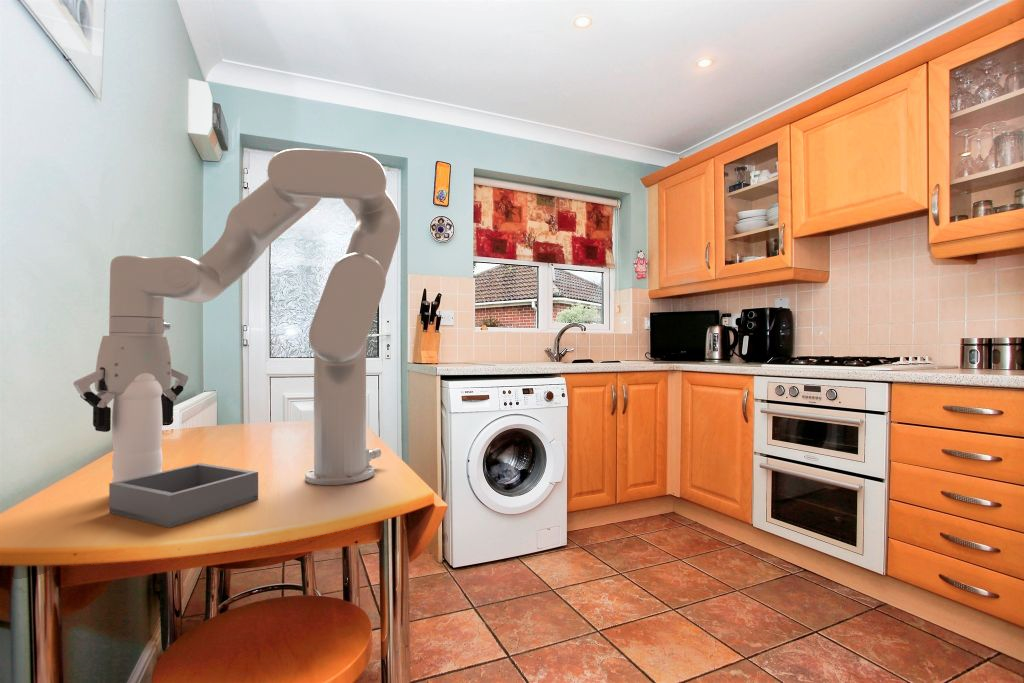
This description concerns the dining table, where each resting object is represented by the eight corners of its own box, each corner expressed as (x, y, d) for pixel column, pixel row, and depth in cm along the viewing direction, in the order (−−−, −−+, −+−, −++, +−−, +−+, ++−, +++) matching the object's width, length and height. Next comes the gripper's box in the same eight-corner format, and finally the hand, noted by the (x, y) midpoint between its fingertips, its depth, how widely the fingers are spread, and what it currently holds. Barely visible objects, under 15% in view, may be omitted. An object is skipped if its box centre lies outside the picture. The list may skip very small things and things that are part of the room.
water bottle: (170, 490, 88) (170, 348, 88) (123, 501, 82) (123, 349, 82) (151, 484, 91) (150, 348, 92) (104, 494, 85) (103, 348, 85)
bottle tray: (200, 488, 89) (199, 463, 89) (258, 499, 83) (258, 472, 83) (109, 512, 76) (109, 483, 76) (169, 527, 70) (169, 495, 70)
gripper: (174, 329, 96) (173, 418, 96) (63, 326, 80) (62, 432, 80) (199, 329, 93) (198, 421, 93) (89, 326, 77) (87, 436, 77)
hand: (135, 426), depth 87 cm, fingers open, 9 cm apart
